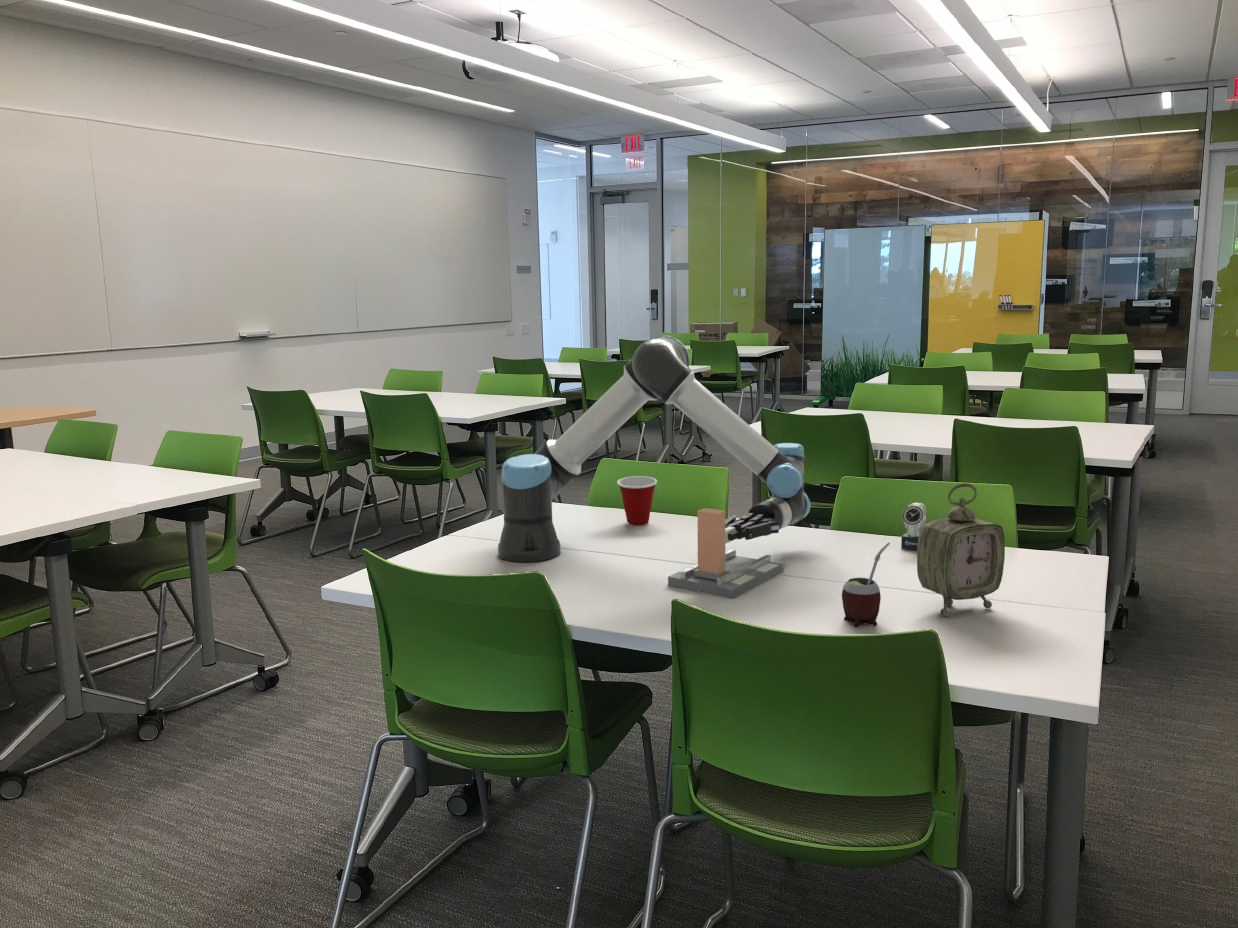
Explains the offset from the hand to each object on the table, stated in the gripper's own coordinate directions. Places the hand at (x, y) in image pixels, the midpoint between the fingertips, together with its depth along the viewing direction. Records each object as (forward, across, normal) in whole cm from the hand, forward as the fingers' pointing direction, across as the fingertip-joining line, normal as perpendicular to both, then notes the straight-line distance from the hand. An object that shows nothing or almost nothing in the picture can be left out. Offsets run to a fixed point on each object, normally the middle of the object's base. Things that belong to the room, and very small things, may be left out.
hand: (717, 539), depth 202 cm
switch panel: (-4, 0, -10) cm, 11 cm away
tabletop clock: (-12, -47, -10) cm, 49 cm away
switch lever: (+2, 0, -8) cm, 8 cm away
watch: (-50, -26, -10) cm, 57 cm away
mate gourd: (+5, -35, -10) cm, 36 cm away
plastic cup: (-35, +46, -10) cm, 59 cm away
